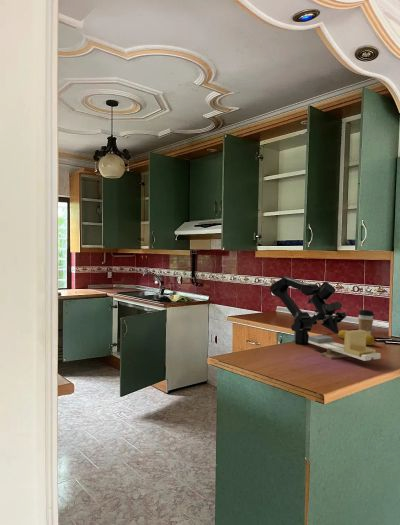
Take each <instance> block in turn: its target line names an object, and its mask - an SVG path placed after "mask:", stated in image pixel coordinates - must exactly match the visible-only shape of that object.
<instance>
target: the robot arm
mask: <svg viewBox="0 0 400 525" xmlns="http://www.w3.org/2000/svg"><path fill="white" fill-rule="evenodd" d="M290 287H291V288H294V289H295V290H297V291H300V292H301V294H303V295H304V296H306V297H309V298H308V300H307V304H311V305H313V306H314V309H315V311H314V312H315V313H314V314H313V315H312V316H310V314H309V312H307V311H302V310H301V309H300V307H299V306H298V304H296V303H295V301H294V300H293V298H292V297H291V295H289V293H288V290H289V288H290ZM269 290H270V292H271V294H272V295H273V296H275V297H277V298H278V299H280V301H281V302H282V303H283V304H284V306H285V307H286V309H287V310H288V311H289V313H290V314H291V316H292V317H293V324H292V325H291V327H290V328H291V331H293V340H292V341H293V343H294V344H296V345H309V343H308V339H309V336H310V334H309V332H311V330H312V327H313V326H314V325H315V326H316V325H317V324H318V322H319V321H320V322H321V323H320V325H321V326H323V327H325V328H326V329H328V330H329V331H331V332H333V333H334V334H336V335H338V333H339V331H340V330H339V326H338V324H339V323H341V322H343V320H344V319H346V317H348V316H347V314H346V312H345V311H340V310H341V309H342V307H343V305H342V303H341V302H340V301H335V302H330V303H327V300H329V299H330V298H331V297H332V296H333V295H334V294H335V293H336V287H334V286H333V285H332V284H330V283H329V282H328V281H323V283H322V284H321V285H320V286H319V285H318V284H316V283H307V282H303V281H301V280H298V279H295V278H292V277H291V276H283V277H281V278H280V279H279V280H276V281H275V282H273V283H271V285H270V287H269ZM310 296H311V297H310ZM336 311H337V312H336ZM317 321H318V322H317Z"/></svg>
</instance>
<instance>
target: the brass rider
mask: <svg viewBox="0 0 400 525" xmlns="http://www.w3.org/2000/svg"><path fill="white" fill-rule="evenodd" d="M366 332H367V331H364V330H359V329H355V330H349V331H345V339H343V340H344V343H343V345H344V352H346V353H349V354H352V355H355V356H359V357H361V356H362V355H365V354H372V353H377V352H376V349H374V348H370V347H367V345H366Z"/></svg>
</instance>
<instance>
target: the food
mask: <svg viewBox="0 0 400 525" xmlns="http://www.w3.org/2000/svg"><path fill="white" fill-rule="evenodd" d="M338 331H339V333H338V334H337V336H338V337H339V338H340V339H342V340H345V331H350V330H348V329H347V330H345V329H344V330H343V329H342V330H338ZM374 343H375V338H374V336H373V335H372V334H371V335H370V334H366V346H372V345H373V344H374Z"/></svg>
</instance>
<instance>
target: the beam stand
mask: <svg viewBox="0 0 400 525" xmlns="http://www.w3.org/2000/svg"><path fill="white" fill-rule="evenodd" d="M320 356H321V357H325V358H327V359H330V360H333V359H340V358H347V357H349V356H348V355H345V354H342V353H339V352H336V351H333V350H332V349H329V348H326V352H320Z"/></svg>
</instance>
